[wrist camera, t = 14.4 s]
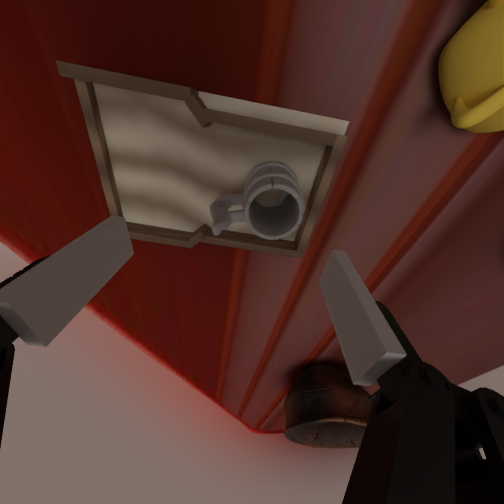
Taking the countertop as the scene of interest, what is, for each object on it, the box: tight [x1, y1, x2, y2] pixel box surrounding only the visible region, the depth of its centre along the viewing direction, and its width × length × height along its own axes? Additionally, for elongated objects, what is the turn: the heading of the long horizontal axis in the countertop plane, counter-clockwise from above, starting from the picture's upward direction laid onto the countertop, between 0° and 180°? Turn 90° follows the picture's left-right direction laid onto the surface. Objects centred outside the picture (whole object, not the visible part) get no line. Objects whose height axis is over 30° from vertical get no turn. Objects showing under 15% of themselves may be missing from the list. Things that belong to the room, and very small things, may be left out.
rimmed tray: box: [56, 61, 349, 258], centre depth 28 cm, size 20×32×4 cm, turn 81°
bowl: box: [284, 364, 375, 448], centre depth 55 cm, size 25×25×15 cm
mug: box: [209, 161, 304, 240], centre depth 24 cm, size 8×12×12 cm, turn 100°
